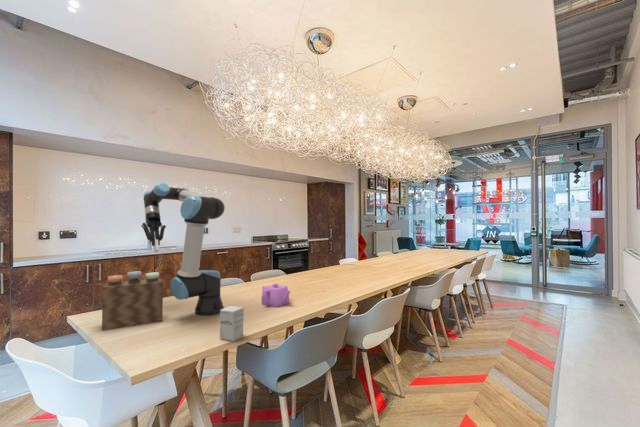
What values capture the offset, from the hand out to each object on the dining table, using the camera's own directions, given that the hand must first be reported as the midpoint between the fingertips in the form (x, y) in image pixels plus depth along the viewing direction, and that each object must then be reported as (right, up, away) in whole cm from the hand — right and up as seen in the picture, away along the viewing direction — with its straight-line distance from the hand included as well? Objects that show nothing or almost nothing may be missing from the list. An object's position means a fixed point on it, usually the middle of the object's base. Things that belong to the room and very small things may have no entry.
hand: (156, 250), depth 164 cm
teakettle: (+64, -35, +19) cm, 75 cm away
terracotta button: (-10, -14, -18) cm, 25 cm away
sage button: (+4, -14, -10) cm, 18 cm away
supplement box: (+52, -34, -34) cm, 71 cm away
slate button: (-3, -13, -14) cm, 19 cm away
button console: (-3, -34, -15) cm, 38 cm away
